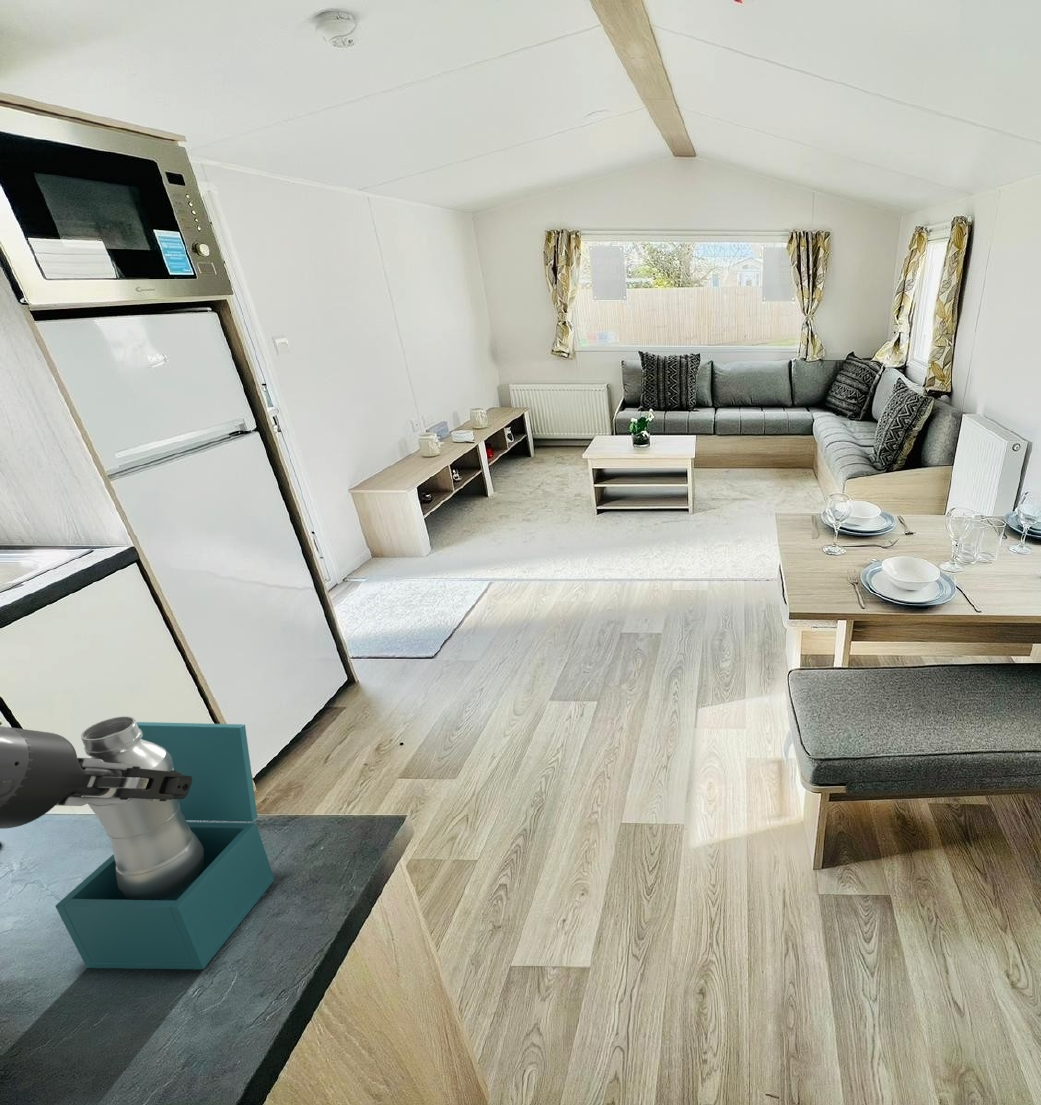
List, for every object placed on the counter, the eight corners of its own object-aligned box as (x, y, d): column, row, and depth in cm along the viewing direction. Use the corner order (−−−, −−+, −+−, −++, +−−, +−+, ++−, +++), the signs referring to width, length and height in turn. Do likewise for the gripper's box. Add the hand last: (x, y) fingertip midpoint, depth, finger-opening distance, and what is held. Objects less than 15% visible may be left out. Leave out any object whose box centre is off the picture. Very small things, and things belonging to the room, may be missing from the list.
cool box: (203, 969, 63) (177, 907, 59) (86, 968, 62) (54, 905, 59) (274, 880, 72) (256, 822, 69) (174, 878, 72) (150, 820, 69)
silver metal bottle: (124, 883, 65) (56, 726, 58) (206, 848, 70) (153, 699, 62) (127, 924, 61) (55, 761, 54) (214, 885, 65) (158, 729, 58)
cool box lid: (239, 727, 66) (245, 724, 67) (129, 725, 66) (136, 721, 67) (252, 821, 69) (257, 817, 69) (146, 819, 68) (152, 815, 69)
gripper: (87, 728, 49) (235, 750, 64) (-100, 722, 49) (94, 746, 64) (42, 831, 46) (209, 829, 61) (-158, 826, 46) (60, 825, 61)
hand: (150, 786), depth 62 cm, fingers closed on silver metal bottle, 6 cm apart
